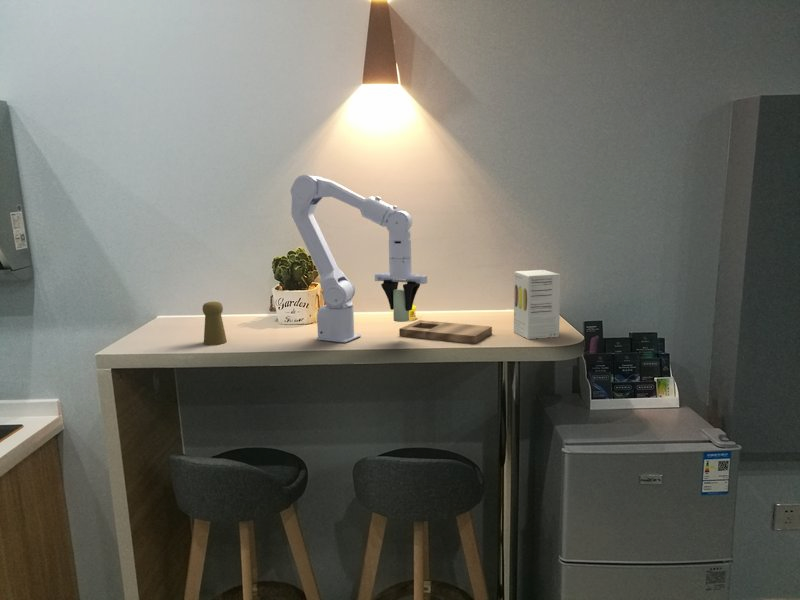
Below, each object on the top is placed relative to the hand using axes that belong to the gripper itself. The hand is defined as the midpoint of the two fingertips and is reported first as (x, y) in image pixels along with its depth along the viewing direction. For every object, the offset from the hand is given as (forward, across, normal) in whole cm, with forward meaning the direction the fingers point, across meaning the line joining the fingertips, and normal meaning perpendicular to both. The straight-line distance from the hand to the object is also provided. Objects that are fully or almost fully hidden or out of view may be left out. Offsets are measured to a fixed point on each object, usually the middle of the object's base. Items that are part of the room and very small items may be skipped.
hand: (401, 309), depth 167 cm
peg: (+3, 0, 0) cm, 3 cm away
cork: (+9, +45, +22) cm, 51 cm away
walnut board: (+8, -8, -10) cm, 15 cm away
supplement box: (+8, -30, -20) cm, 37 cm away
